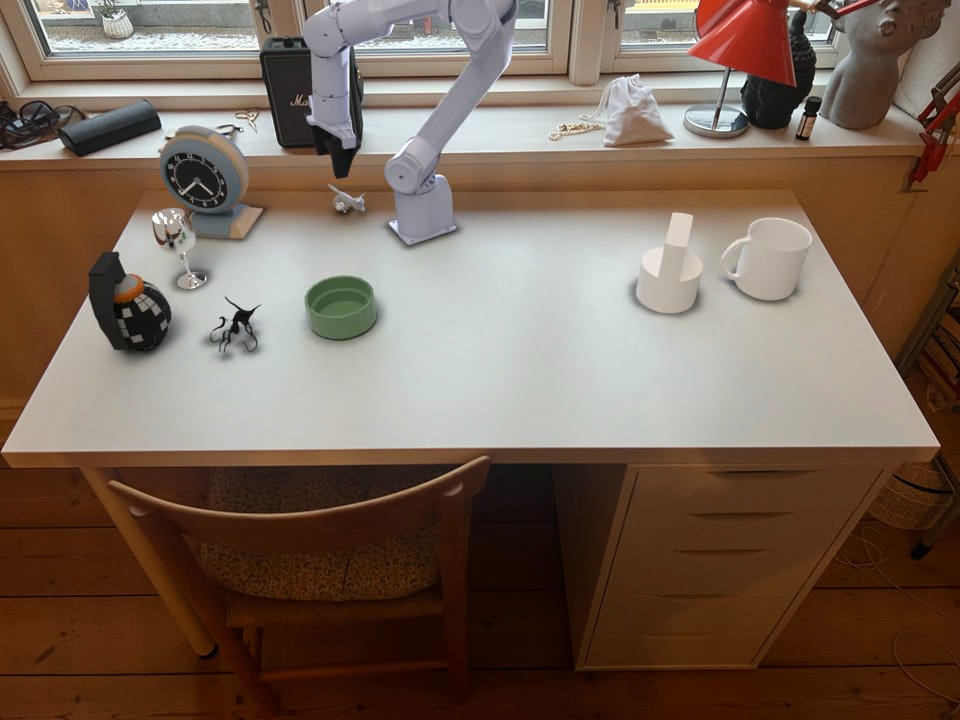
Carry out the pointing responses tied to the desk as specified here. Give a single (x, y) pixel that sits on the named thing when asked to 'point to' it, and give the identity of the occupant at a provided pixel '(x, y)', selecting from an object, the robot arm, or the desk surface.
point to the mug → (769, 258)
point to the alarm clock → (209, 181)
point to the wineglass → (177, 241)
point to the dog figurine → (346, 201)
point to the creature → (238, 317)
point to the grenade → (127, 306)
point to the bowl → (340, 307)
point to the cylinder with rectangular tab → (670, 271)
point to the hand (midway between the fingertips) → (332, 165)
